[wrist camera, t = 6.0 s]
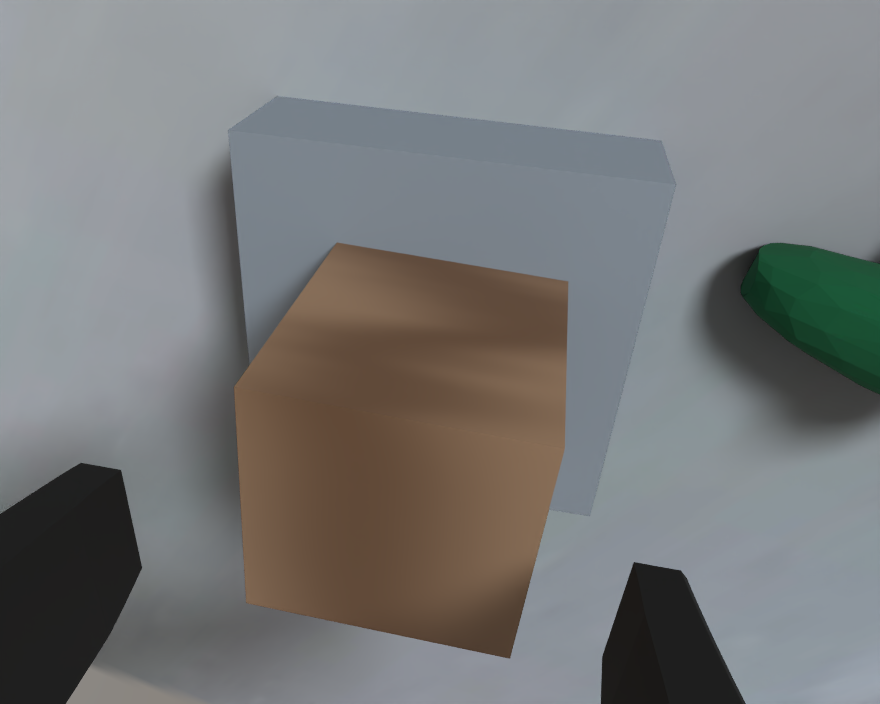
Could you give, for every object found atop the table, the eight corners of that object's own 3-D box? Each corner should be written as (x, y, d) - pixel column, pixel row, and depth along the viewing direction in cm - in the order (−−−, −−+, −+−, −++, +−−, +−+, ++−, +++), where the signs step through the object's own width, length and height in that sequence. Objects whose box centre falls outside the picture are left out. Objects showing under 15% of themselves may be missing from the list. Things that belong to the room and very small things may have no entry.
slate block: (659, 135, 15) (676, 184, 12) (588, 434, 19) (589, 515, 17) (283, 91, 16) (228, 130, 13) (297, 389, 20) (257, 461, 17)
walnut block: (568, 281, 14) (564, 449, 9) (527, 461, 16) (509, 658, 12) (336, 242, 14) (233, 386, 10) (331, 424, 16) (246, 603, 12)
